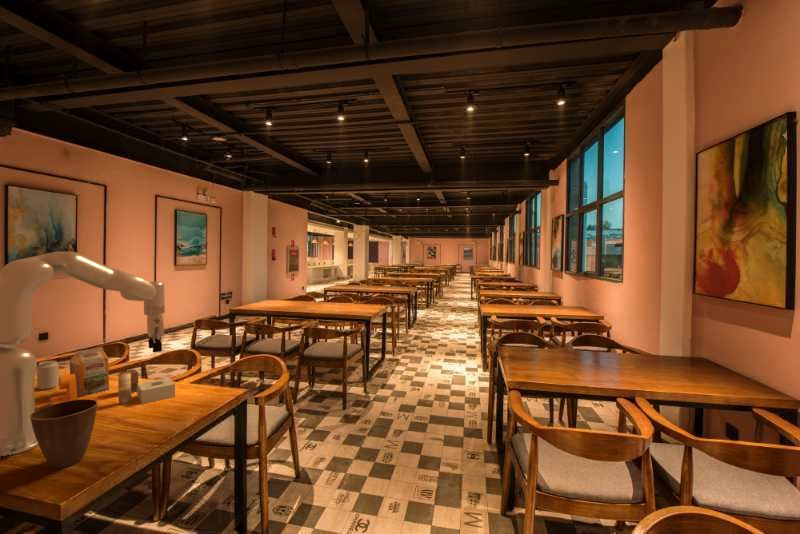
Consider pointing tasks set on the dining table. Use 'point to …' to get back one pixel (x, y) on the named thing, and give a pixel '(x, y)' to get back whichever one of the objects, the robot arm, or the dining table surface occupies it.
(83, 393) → the milk carton
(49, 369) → the can
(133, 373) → the walnut square bit
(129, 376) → the birch dowel
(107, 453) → the dining table surface
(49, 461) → the plant pot
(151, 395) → the bore block
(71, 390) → the bracket
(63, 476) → the dining table surface
